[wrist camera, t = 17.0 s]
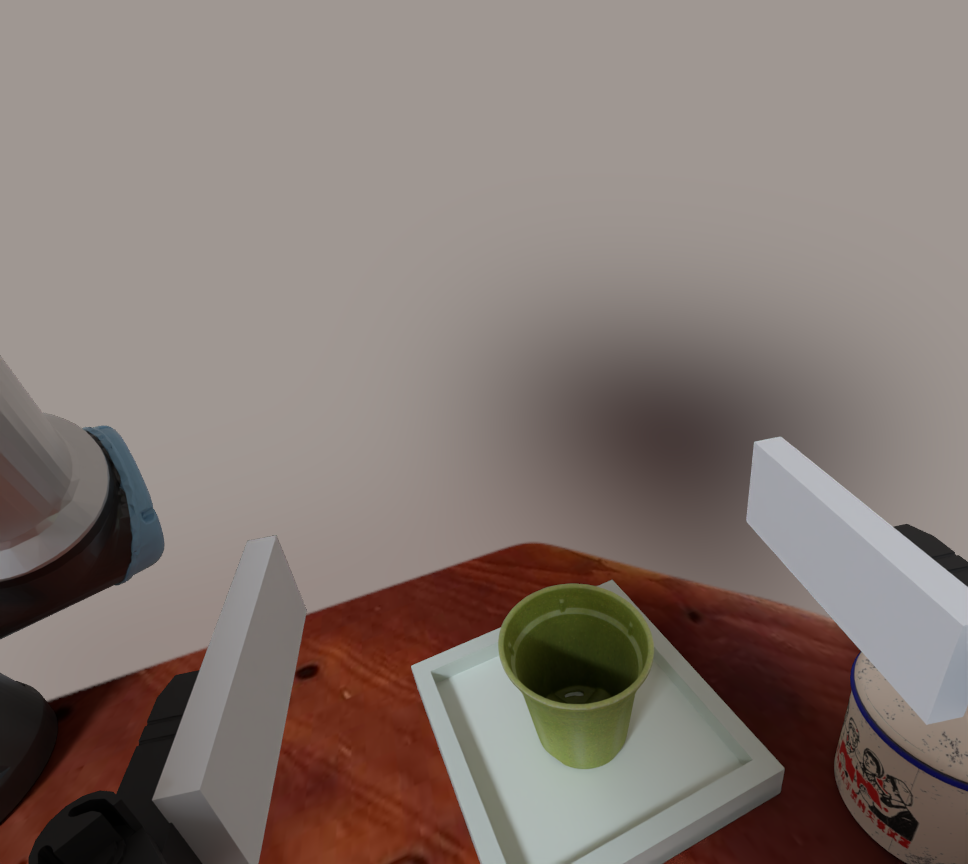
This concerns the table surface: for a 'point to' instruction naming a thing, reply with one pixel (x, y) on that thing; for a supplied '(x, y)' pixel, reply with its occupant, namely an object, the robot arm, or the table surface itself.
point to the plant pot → (577, 668)
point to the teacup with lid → (903, 772)
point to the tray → (598, 791)
